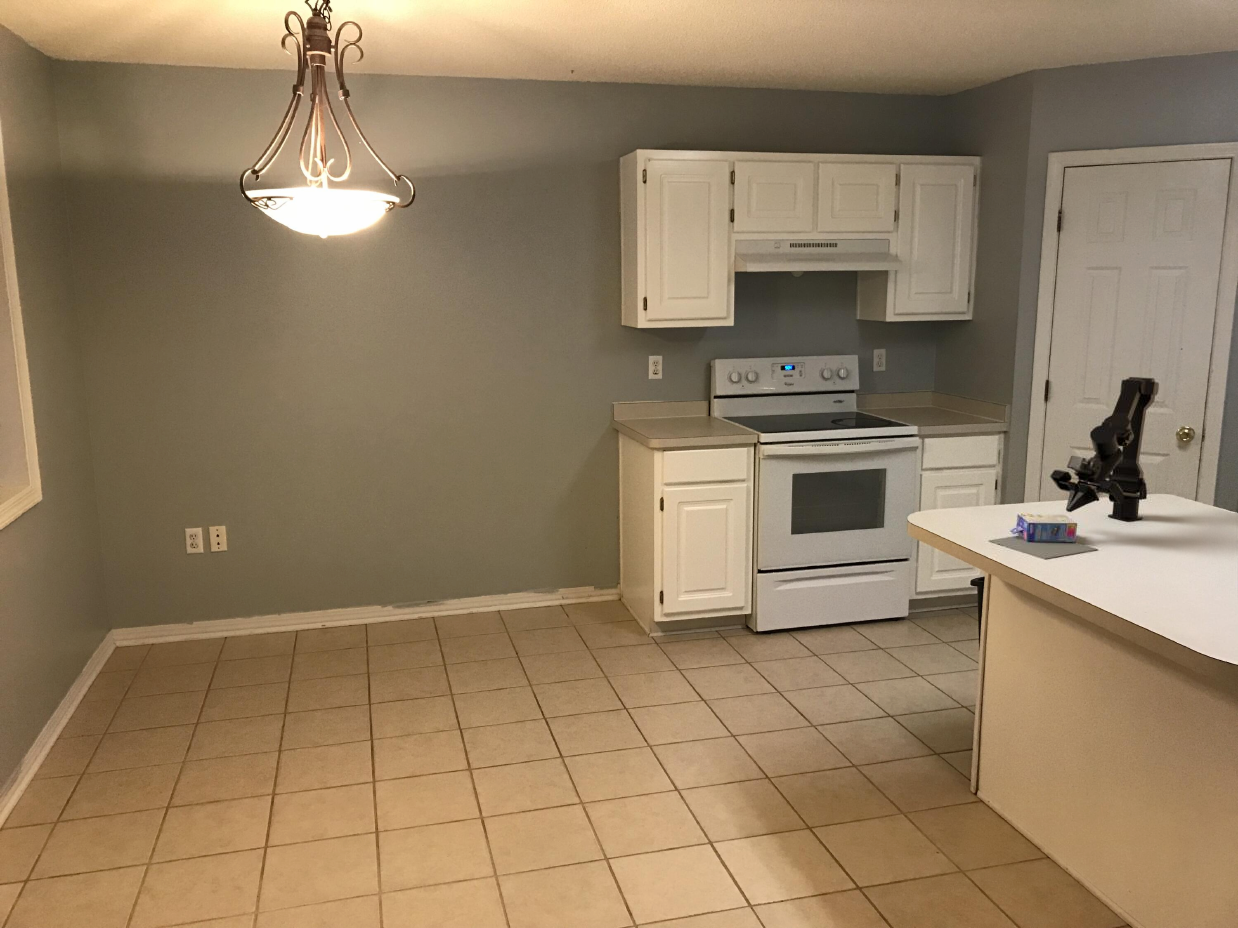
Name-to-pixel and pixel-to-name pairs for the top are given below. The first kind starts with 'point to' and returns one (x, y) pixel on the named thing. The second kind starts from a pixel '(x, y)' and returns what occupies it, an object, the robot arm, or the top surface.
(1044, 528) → the ink cartridge box
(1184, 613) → the top surface
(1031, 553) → the mat
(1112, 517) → the robot arm
